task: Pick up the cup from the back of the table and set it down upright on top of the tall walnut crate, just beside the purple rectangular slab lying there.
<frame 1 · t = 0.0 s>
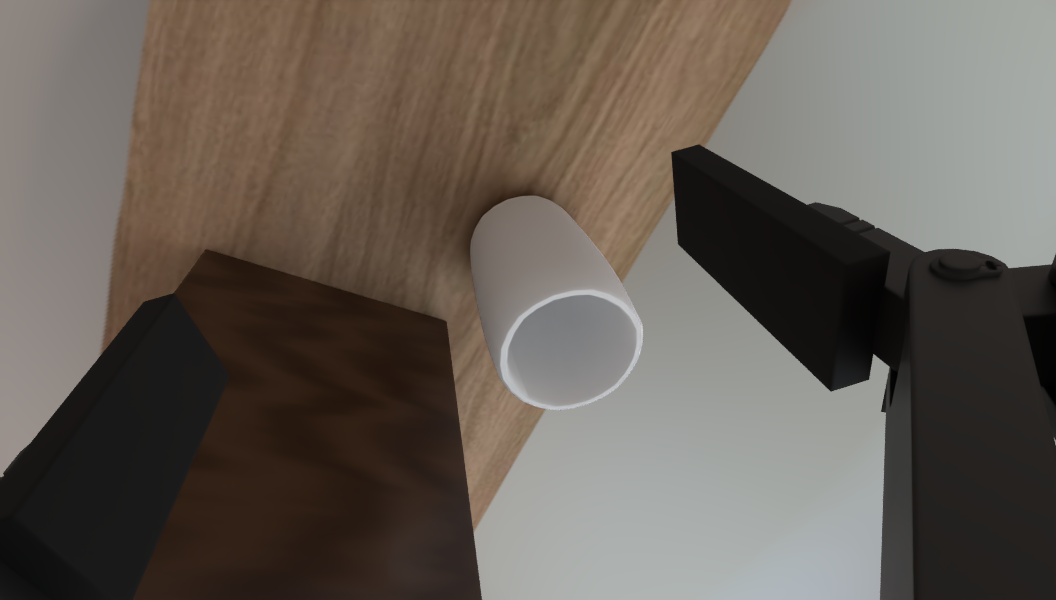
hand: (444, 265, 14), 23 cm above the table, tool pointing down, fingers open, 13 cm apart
crate: (294, 401, 43), on the table
cup: (520, 239, 40), on the table
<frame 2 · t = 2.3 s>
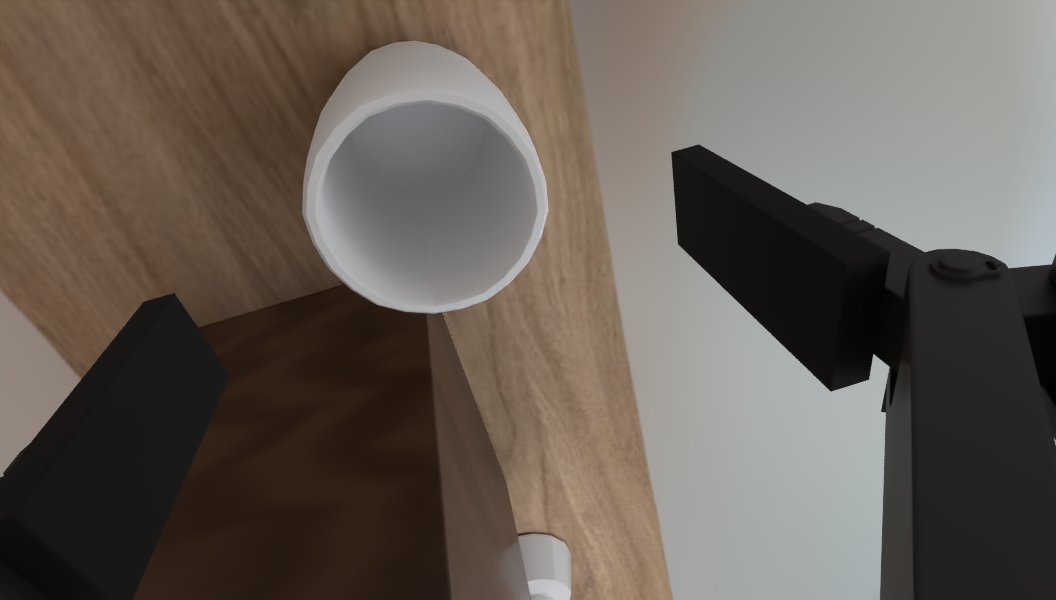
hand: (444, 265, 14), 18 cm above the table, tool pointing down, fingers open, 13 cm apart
crate: (357, 424, 39), on the table
inkwell: (531, 586, 54), on the table
cup: (417, 116, 30), on the table
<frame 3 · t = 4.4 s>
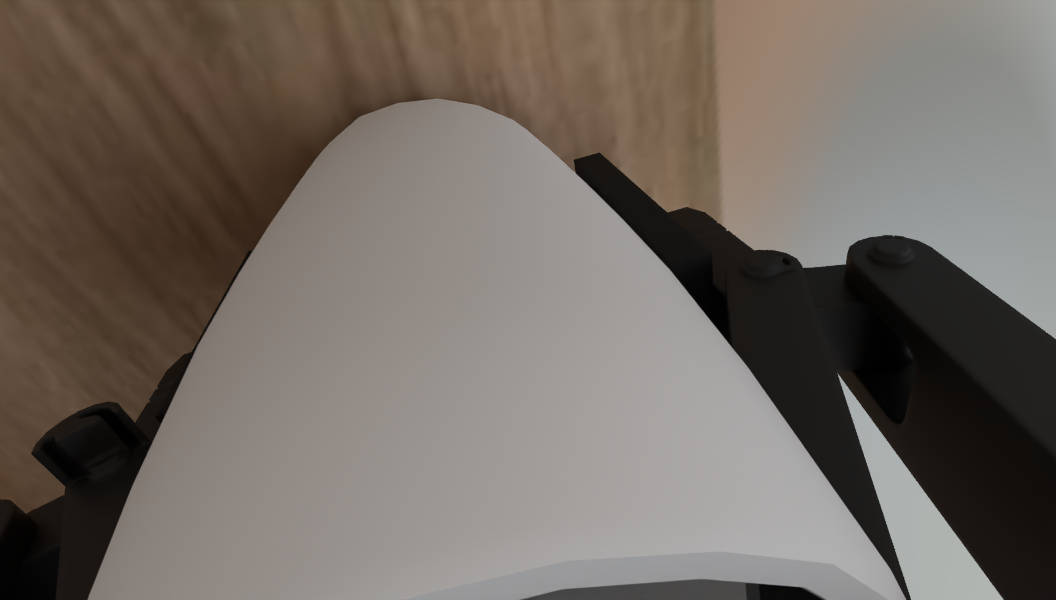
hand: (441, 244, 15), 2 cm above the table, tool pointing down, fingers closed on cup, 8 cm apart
cup: (438, 220, 17), on the table, touching gripper
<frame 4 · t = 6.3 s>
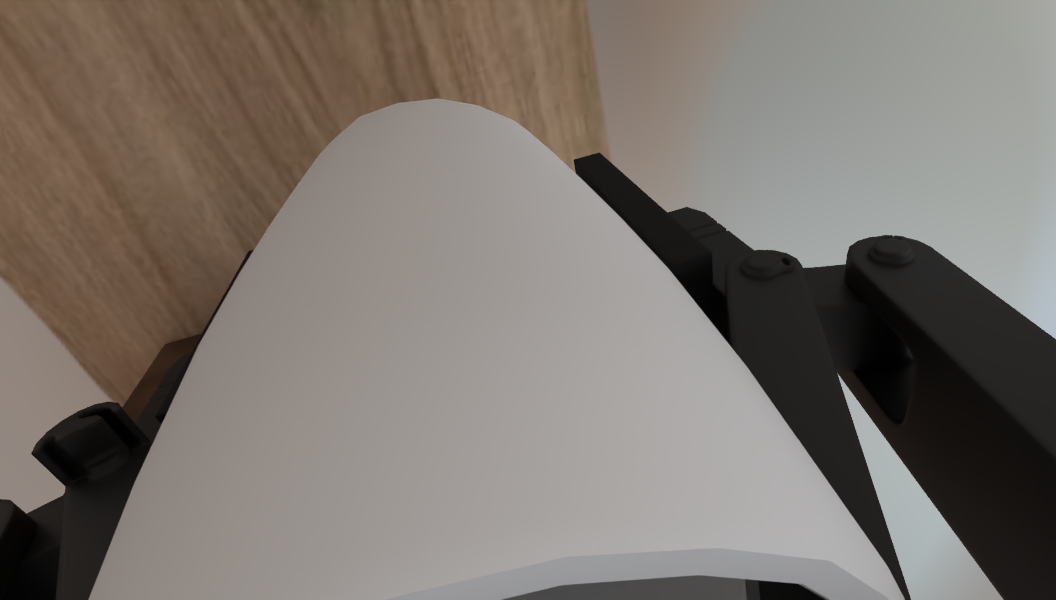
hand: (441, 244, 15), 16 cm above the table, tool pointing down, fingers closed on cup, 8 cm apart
crate: (368, 429, 39), on the table
cup: (438, 220, 17), point 14 cm above the table, touching gripper
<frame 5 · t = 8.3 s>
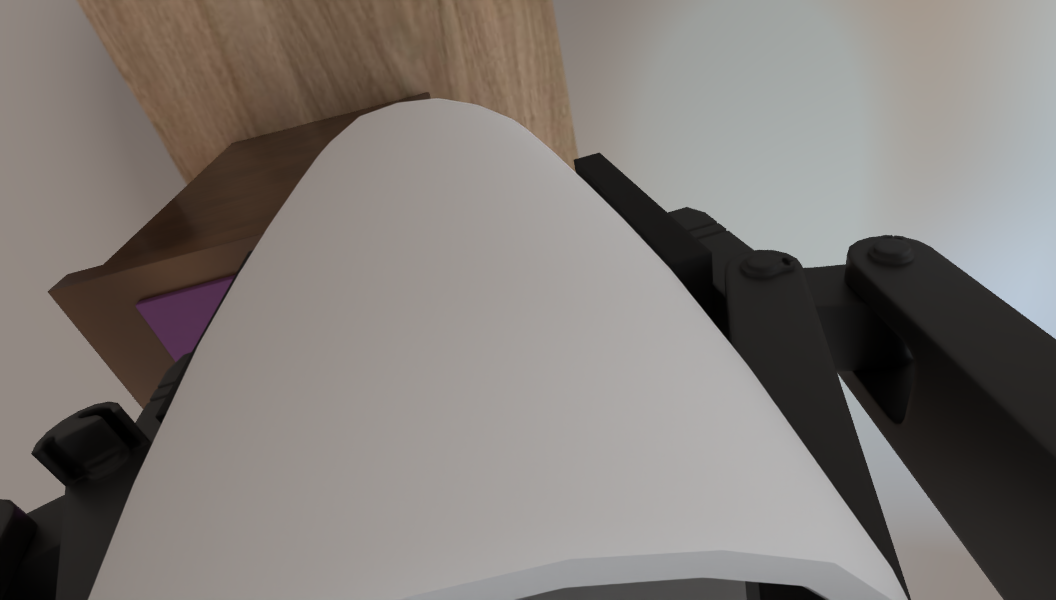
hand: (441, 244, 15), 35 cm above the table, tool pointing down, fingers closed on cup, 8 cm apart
crate: (376, 233, 52), on the table
purple rectangular slab: (313, 342, 27), resting on crate
cup: (438, 220, 17), point 33 cm above the table, touching gripper
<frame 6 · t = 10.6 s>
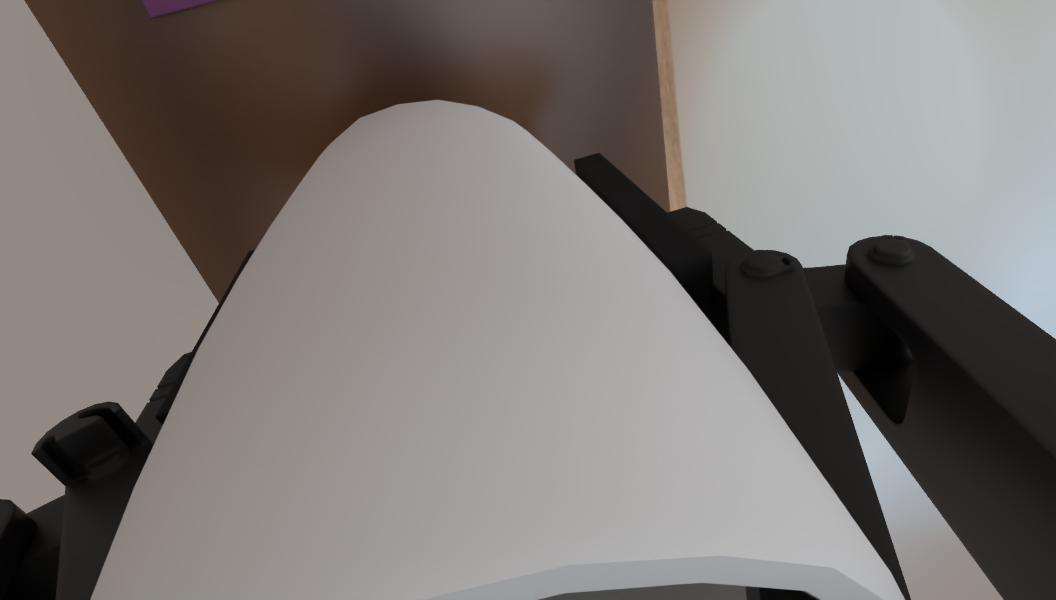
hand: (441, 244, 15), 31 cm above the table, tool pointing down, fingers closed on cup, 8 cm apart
cup: (438, 221, 17), point 29 cm above the table, touching gripper
when the fingers open (28 cm above the table, at t = 12.0 s): cup stays where it is, resting on crate.
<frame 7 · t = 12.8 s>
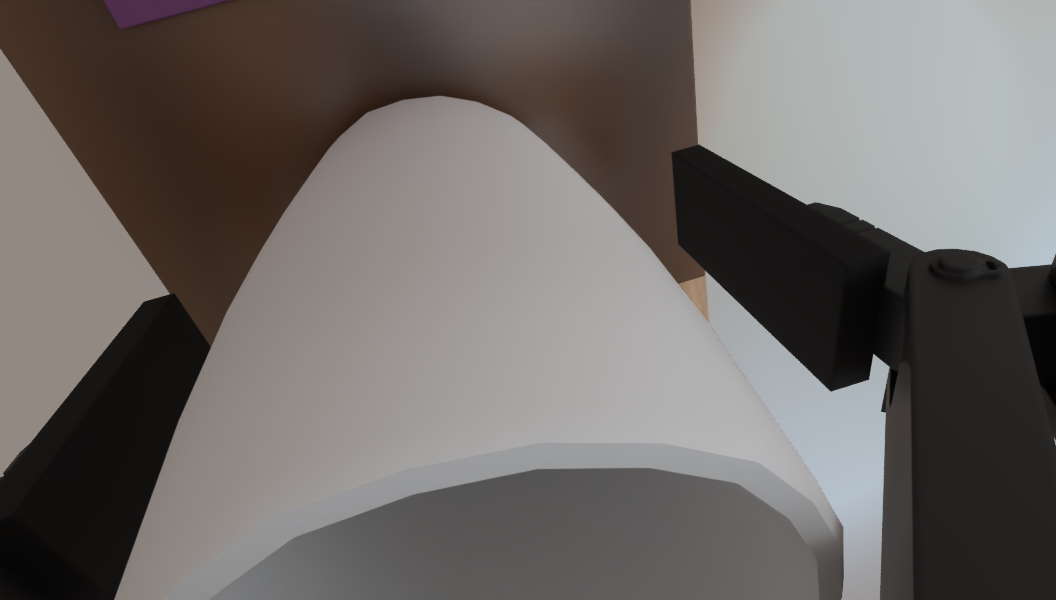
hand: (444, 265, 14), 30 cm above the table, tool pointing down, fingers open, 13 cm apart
cup: (440, 212, 18), point 26 cm above the table, touching crate
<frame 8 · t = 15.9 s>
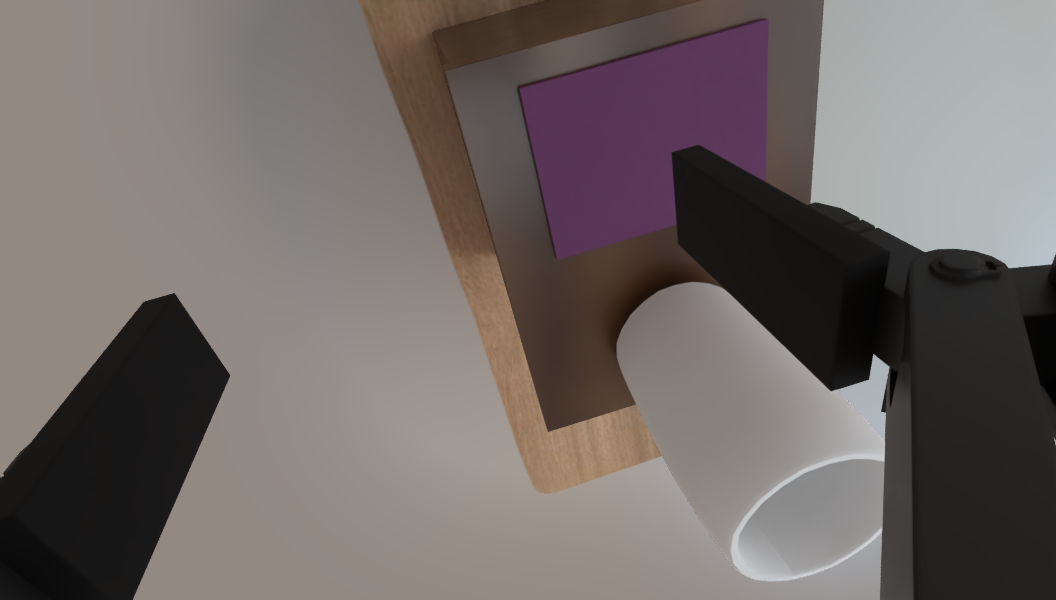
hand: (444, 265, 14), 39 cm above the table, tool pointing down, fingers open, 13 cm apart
crate: (552, 131, 52), on the table
purple rectangular slab: (651, 147, 27), resting on crate
cup: (668, 326, 34), point 26 cm above the table, touching crate
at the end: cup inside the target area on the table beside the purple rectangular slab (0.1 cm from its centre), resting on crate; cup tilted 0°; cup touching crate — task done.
